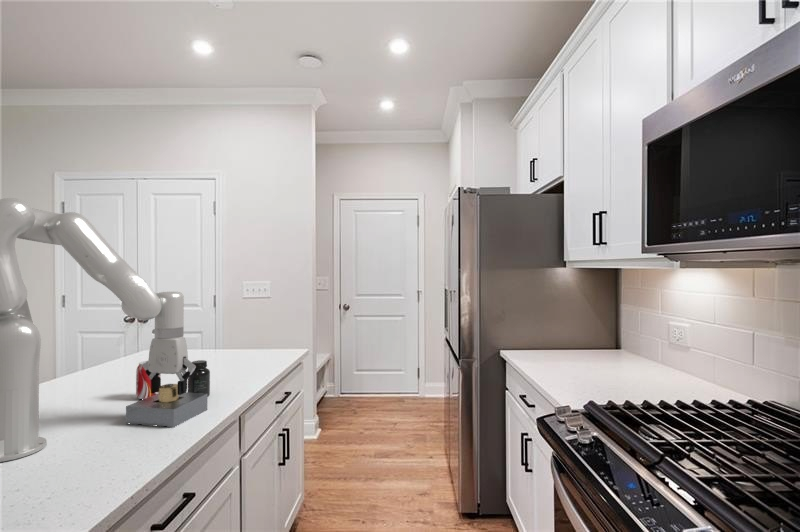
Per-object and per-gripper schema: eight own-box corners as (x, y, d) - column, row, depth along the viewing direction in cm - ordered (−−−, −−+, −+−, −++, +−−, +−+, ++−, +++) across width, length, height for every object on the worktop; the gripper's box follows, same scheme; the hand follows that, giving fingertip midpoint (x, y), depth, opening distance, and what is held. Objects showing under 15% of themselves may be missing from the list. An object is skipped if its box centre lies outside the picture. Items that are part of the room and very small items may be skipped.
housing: (173, 427, 116) (173, 409, 116) (125, 424, 119) (126, 406, 119) (207, 409, 131) (207, 393, 131) (164, 406, 134) (164, 391, 134)
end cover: (170, 420, 122) (170, 387, 122) (154, 419, 123) (154, 386, 123) (182, 414, 127) (182, 382, 127) (166, 413, 128) (167, 382, 128)
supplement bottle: (188, 395, 146) (188, 360, 146) (210, 393, 149) (210, 358, 149) (186, 400, 140) (186, 364, 140) (209, 398, 142) (209, 362, 142)
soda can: (149, 401, 139) (149, 365, 139) (130, 400, 140) (131, 364, 140) (165, 395, 146) (165, 360, 146) (147, 394, 147) (147, 359, 147)
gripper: (133, 334, 123) (133, 395, 123) (187, 336, 120) (187, 398, 120) (152, 330, 130) (152, 387, 130) (203, 332, 127) (203, 390, 127)
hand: (168, 392), depth 125 cm, fingers open, 8 cm apart
